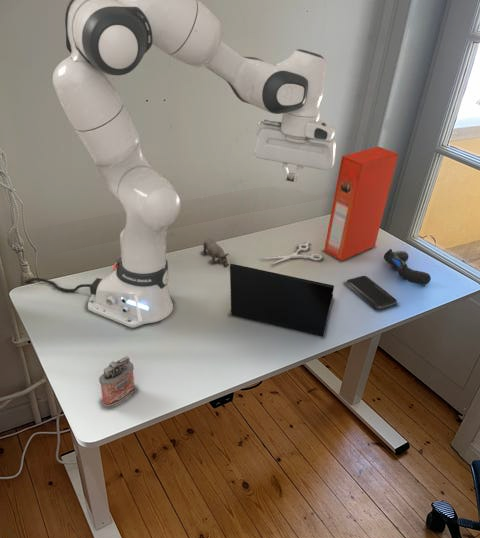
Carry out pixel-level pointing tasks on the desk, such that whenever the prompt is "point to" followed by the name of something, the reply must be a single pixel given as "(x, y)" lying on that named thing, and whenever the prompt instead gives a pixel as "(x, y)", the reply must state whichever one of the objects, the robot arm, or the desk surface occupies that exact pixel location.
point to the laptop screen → (280, 298)
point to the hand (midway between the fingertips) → (290, 180)
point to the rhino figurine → (215, 252)
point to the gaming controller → (406, 267)
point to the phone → (371, 292)
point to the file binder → (359, 201)
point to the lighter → (117, 382)
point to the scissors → (295, 255)
